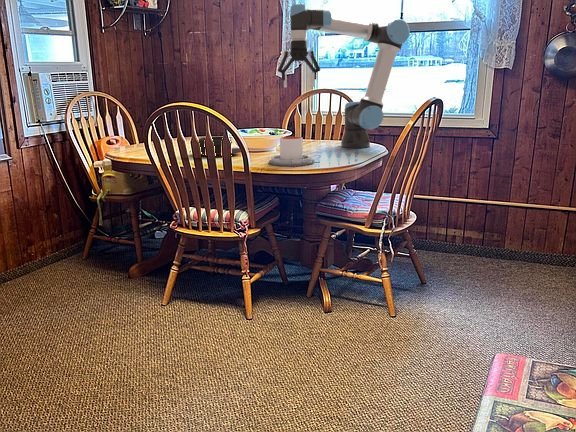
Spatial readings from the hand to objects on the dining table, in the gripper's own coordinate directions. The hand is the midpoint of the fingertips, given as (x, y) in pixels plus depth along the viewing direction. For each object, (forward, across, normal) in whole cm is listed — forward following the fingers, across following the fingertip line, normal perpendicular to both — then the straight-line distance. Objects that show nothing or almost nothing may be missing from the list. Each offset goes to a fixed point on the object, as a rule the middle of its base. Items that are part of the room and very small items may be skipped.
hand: (299, 87), depth 260 cm
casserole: (+32, +40, -10) cm, 52 cm away
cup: (+31, +11, +25) cm, 41 cm away
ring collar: (+32, +11, +25) cm, 42 cm away
